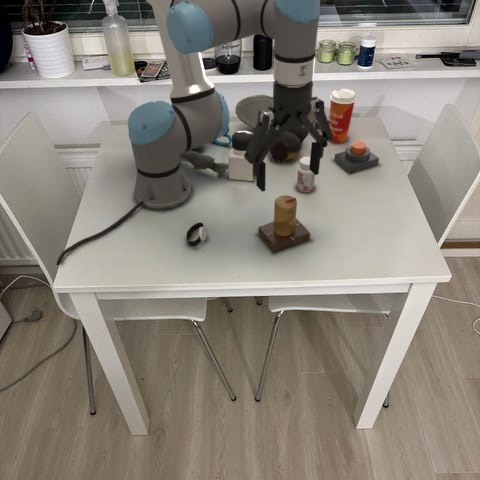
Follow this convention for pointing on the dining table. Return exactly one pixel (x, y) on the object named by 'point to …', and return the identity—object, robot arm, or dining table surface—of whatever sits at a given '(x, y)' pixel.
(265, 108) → the shoe
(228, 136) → the scissors
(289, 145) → the figurine
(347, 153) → the button box
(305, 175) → the pill bottle
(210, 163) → the statue
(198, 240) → the watch
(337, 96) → the paper cup
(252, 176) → the medicine bottle
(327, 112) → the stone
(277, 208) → the lock knob
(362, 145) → the button
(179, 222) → the dining table surface
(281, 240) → the panel
